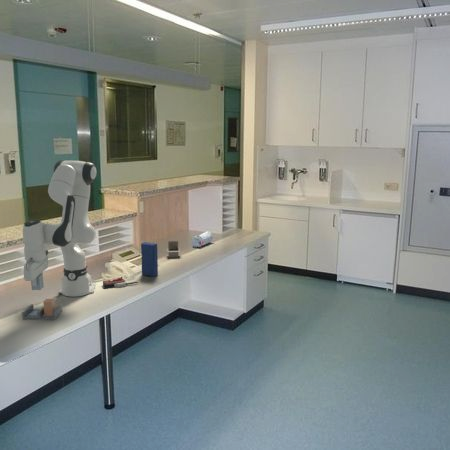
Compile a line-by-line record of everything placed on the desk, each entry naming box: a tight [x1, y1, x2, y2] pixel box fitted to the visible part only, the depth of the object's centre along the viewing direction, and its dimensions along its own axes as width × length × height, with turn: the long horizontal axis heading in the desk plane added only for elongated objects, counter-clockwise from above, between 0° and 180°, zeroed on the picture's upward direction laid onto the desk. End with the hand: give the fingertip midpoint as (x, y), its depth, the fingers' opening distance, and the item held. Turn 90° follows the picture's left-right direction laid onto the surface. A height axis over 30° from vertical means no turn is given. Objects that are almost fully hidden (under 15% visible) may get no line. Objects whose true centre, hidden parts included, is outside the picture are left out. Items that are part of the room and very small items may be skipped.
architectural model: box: [166, 240, 181, 259], centre depth 324 cm, size 19×17×11 cm
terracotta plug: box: [43, 298, 57, 315], centre depth 219 cm, size 4×4×6 cm
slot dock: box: [21, 304, 63, 321], centre depth 219 cm, size 10×15×4 cm, turn 90°
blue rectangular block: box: [140, 241, 159, 277], centre depth 282 cm, size 10×5×20 cm, turn 62°
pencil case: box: [191, 230, 214, 248], centre depth 359 cm, size 21×9×10 cm, turn 152°
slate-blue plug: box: [30, 274, 45, 291], centre depth 214 cm, size 4×4×6 cm
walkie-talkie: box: [102, 276, 139, 289], centre depth 264 cm, size 9×4×20 cm
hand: (37, 283), depth 214 cm, fingers closed on slate-blue plug, 4 cm apart
